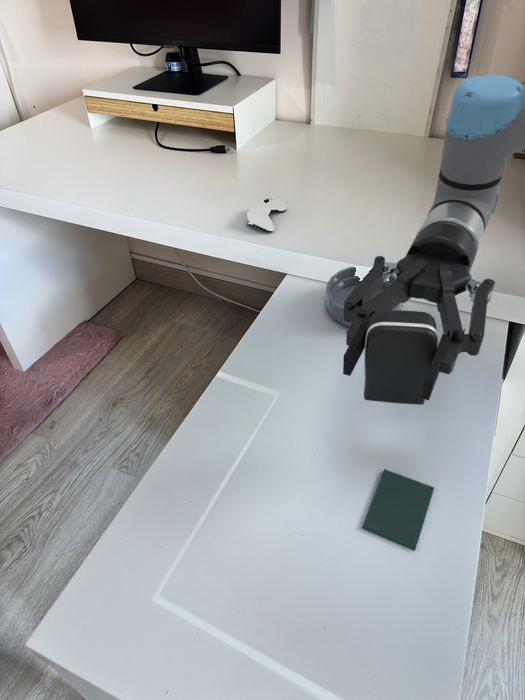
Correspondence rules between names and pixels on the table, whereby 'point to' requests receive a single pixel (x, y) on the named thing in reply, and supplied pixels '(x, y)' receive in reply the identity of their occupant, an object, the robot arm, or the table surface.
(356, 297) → the robot arm
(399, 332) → the battery charger
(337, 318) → the bowl
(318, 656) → the table surface
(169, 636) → the table surface
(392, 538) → the mat
